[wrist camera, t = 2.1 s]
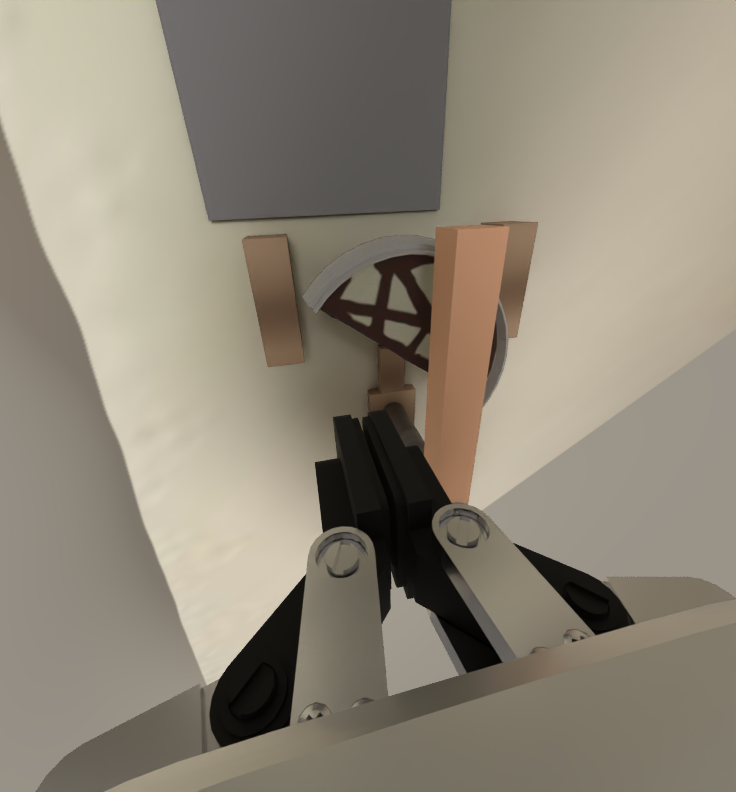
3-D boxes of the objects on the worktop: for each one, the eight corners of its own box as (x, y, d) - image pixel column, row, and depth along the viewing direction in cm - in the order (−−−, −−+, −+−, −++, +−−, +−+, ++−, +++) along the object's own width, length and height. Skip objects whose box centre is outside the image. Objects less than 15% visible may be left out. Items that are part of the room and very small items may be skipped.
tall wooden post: (427, 227, 14) (452, 230, 12) (485, 224, 14) (520, 226, 12) (415, 509, 22) (429, 541, 20) (453, 502, 22) (470, 532, 20)
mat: (154, -16, 16) (150, -22, 16) (447, 2, 18) (451, -3, 18) (210, 220, 21) (208, 220, 20) (436, 209, 23) (439, 209, 23)
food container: (473, 288, 27) (561, 325, 18) (427, 352, 29) (488, 412, 20) (342, 186, 22) (380, 170, 13) (297, 272, 23) (304, 307, 15)
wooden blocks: (247, 236, 22) (219, 253, 13) (512, 221, 25) (640, 226, 16) (287, 440, 30) (287, 539, 21) (483, 410, 33) (557, 484, 24)
